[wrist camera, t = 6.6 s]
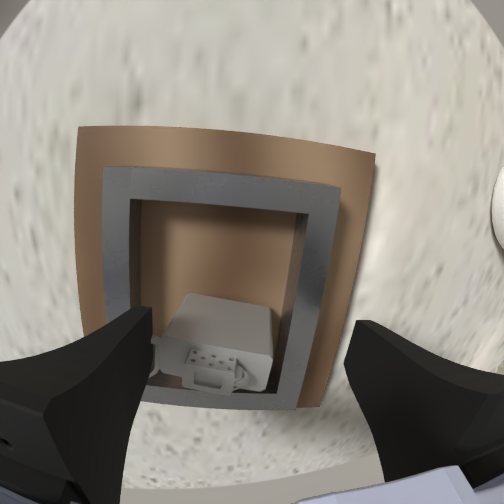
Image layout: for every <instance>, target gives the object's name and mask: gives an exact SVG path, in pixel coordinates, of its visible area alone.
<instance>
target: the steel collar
mask: <svg viewBox="0 0 504 504" xmlns="http://www.w3.org/2000/svg"><path fill="white" fill-rule="evenodd" d="M340 195H341V188H340V187H337V186H334V185H330V184H327V183H320V182H313V181H306V180H298V179H290V178H282V177H274V176H265V175H256V174H247V173H236V172H226V171H214V170H202V169H188V168H172V167H154V166H130V165H116V166H108V167H104V168H103V188H102V262H103V283H104V297H105V310H106V320H107V324H108V323H109V322H111V321H112V320H114V319H115V318H117V317H118V316H120V315H121V314H123V313H124V312H126V311H128V310H129V309H131V308H132V307H134V306H141V213H142V199H145V200H161V201H175V202H189V203H202V204H214V205H226V206H237V207H248V208H258V209H268V210H278V211H287V212H296V213H297V215H296V222H295V229H294V236H293V243H292V250H291V257H290V263H289V270H288V276H287V283H286V289H285V295H284V302H283V308H282V314H281V320H280V326H279V331H278V337H277V343H276V349H275V354H274V360H273V365H272V370H270V374H269V377H268V381H267V385H266V389H264V390H262V391H260V392H259V391H253V390H246V389H240V388H239V389H237V390H234V391H233V392H232V393H231V395H230V396H225V395H220V394H215V393H209V392H204V391H199V390H195V389H190V388H185V387H183V385H182V377H179V376H175V375H170V374H166V373H163V372H162V371H161V370H160V369H159V370H158V372H157V374H155V375H153V376H152V377H150V378H148V381H147V384H146V387H145V390H144V393H143V395H142V398H141V401H144V402H152V403H160V404H169V405H178V406H189V407H201V408H216V409H238V410H296V406H297V402H298V399H299V395H300V391H301V387H302V383H303V380H304V376H305V372H306V368H307V364H308V360H309V355H310V351H311V347H312V343H313V339H314V334H315V330H316V325H317V321H318V316H319V312H320V307H321V302H322V297H323V292H324V287H325V282H326V277H327V272H328V267H329V261H330V256H331V250H332V245H333V239H334V233H335V227H336V221H337V215H338V208H339V202H340Z"/></svg>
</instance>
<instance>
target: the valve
mask: <svg viewBox="0 0 504 504" xmlns="http://www.w3.org/2000/svg"><path fill="white" fill-rule="evenodd" d="M496 374H502V375H504V361H503V362H502V363H501V364H500V365H499V367H498V370H497V373H496Z"/></svg>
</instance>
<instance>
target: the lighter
mask: <svg viewBox="0 0 504 504" xmlns="http://www.w3.org/2000/svg"><path fill="white" fill-rule="evenodd" d="M152 343H153V361H152V366H151V371H150V375H149V378H150V377H152V376H153V375H155V374H157V372H158V370H159V369H160V370H161V371H162V372H163V373H166V374H170V375H175V376H179V377H182V385H183V387H185V388H190V389H195V390H199V391H204V392H209V393H215V394H220V395H225V396H230V395H231V393H232V392H233V391H234V390H237V389H239V388H240V389H246V390H253V391H259V392H260V391H262V390H264V389H266V385H267V381H268V377H269V374H270V370H271V366H272V362H273V344H272V313H271V310H270V308H269V307H266V306H260V305H254V304H249V303H243V302H238V301H232V300H227V299H221V298H216V297H211V296H206V295H200V294H195V293H189V294H187V295H186V297H185V298H184V300H183V302H182V303H181V305H180V306H179V308H178V310H177V311H176V313H175V315H174V316H173V318H172V320H171V321H170V323H169V325H168V326H167V328H166V330H165V331H164V333H163V335H162V336H161V338H159V337H158V336H156V335H155V334H153V335H152V338H151V344H152Z"/></svg>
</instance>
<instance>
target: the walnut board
mask: <svg viewBox="0 0 504 504" xmlns="http://www.w3.org/2000/svg"><path fill="white" fill-rule="evenodd" d="M375 156H376V154H374V153H370V152H365V151H360V150H355V149H350V148H345V147H340V146H335V145H329V144H324V143H318V142H312V141H306V140H299V139H292V138H285V137H278V136H271V135H263V134H254V133H245V132H235V131H225V130H213V129H199V128H183V127H161V126H84V127H78V136H77V148H76V163H75V187H74V231H75V255H76V270H77V283H78V293H79V302H80V311H81V319H82V326H83V333H84V337H85V336H87V335H89V334H90V333H92V332H94V331H96V330H98V329H99V328H101V327H103V326H104V325H106V324H107V320H106V310H105V297H104V283H103V262H102V188H103V168H104V167H108V166H116V165H130V166H154V167H172V168H188V169H202V170H214V171H226V172H236V173H247V174H256V175H265V176H274V177H282V178H290V179H298V180H306V181H313V182H320V183H327V184H330V185H334V186H337V187H340V188H341V195H340V202H339V208H338V215H337V221H336V227H335V233H334V239H333V245H332V250H331V256H330V261H329V267H328V272H327V277H326V282H325V287H324V292H323V297H322V302H321V307H320V312H319V316H318V321H317V325H316V330H315V334H314V339H313V343H312V347H311V351H310V355H309V360H308V364H307V368H306V372H305V376H304V380H303V383H302V387H301V391H300V395H299V399H298V402H297V406H296V408H301V407H320V404H321V401H322V397H323V394H324V391H325V388H326V385H327V382H328V378H329V375H330V372H331V368H332V365H333V361H334V358H335V354H336V351H337V347H338V344H339V340H340V336H341V332H342V329H343V325H344V321H345V317H346V313H347V309H348V305H349V300H350V296H351V292H352V288H353V283H354V279H355V274H356V269H357V265H358V260H359V255H360V250H361V245H362V239H363V234H364V229H365V223H366V217H367V211H368V205H369V199H370V192H371V186H372V179H373V171H374V164H375ZM296 215H297V213H296V212H287V211H278V210H268V209H258V208H248V207H237V206H226V205H214V204H202V203H189V202H175V201H161V200H145V199H142V213H141V306H144V307H152V322H153V334H155V335H156V336H158V337H159V338H161V336H162V335H163V333H164V331H165V330H166V328H167V326H168V325H169V323H170V321H171V320H172V318H173V316H174V315H175V313H176V311H177V310H178V308H179V306H180V305H181V303H182V302H183V300H184V298H185V297H186V295H187V294H189V293H195V294H200V295H206V296H211V297H216V298H221V299H227V300H232V301H238V302H243V303H249V304H254V305H260V306H266V307H269V308H270V310H271V313H272V344H273V360H274V354H275V349H276V343H277V337H278V331H279V326H280V320H281V314H282V308H283V302H284V295H285V289H286V283H287V276H288V270H289V263H290V257H291V250H292V243H293V236H294V229H295V222H296ZM272 365H273V362H272ZM271 370H272V366H271Z"/></svg>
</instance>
